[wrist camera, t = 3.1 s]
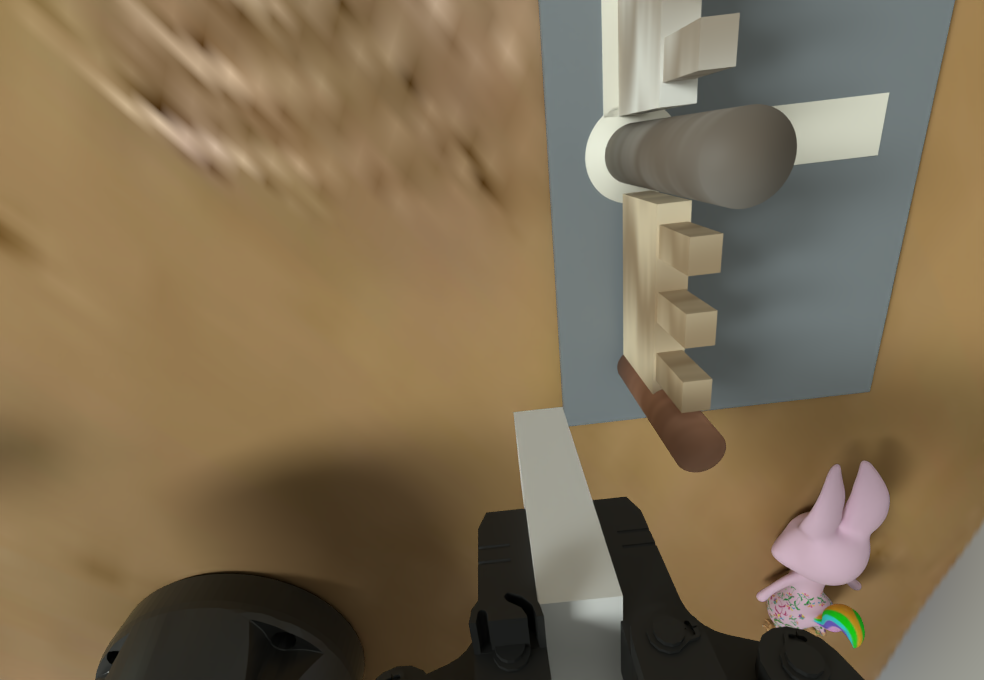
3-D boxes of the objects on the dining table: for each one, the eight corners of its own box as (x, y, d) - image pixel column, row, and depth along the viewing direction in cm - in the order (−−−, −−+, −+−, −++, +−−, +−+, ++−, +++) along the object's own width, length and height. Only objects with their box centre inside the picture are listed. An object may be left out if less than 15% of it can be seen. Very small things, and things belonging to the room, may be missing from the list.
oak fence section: (615, 194, 20) (684, 217, 14) (658, 189, 20) (747, 210, 14) (617, 384, 23) (673, 474, 17) (653, 380, 23) (724, 469, 17)
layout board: (863, 388, 25) (871, 392, 25) (563, 422, 25) (565, 427, 25) (1004, -277, 16) (1020, -289, 15) (525, -219, 16) (526, -230, 15)
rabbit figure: (817, 592, 33) (887, 431, 25) (882, 691, 28) (996, 528, 20) (727, 603, 33) (769, 446, 25) (776, 704, 28) (848, 546, 20)
